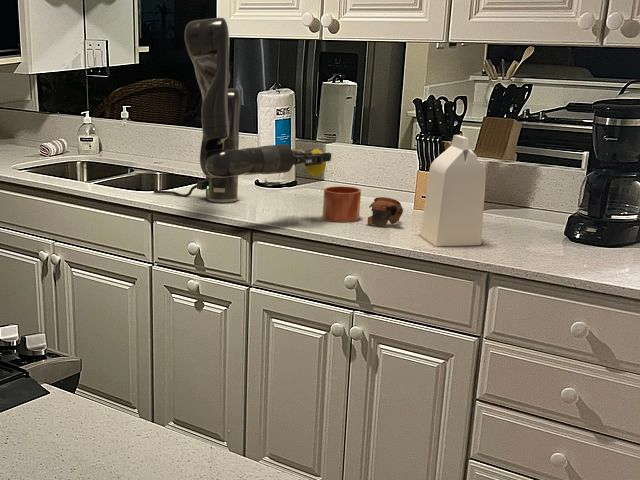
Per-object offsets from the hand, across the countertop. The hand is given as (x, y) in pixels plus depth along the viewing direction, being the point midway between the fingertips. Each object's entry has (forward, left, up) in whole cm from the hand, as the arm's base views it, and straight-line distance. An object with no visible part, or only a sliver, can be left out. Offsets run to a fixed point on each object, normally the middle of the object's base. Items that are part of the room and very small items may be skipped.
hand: (323, 155), depth 257 cm
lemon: (0, -3, -6) cm, 7 cm away
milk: (+38, +8, -18) cm, 43 cm away
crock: (+3, +5, -18) cm, 19 cm away
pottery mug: (+16, +9, -18) cm, 26 cm away
